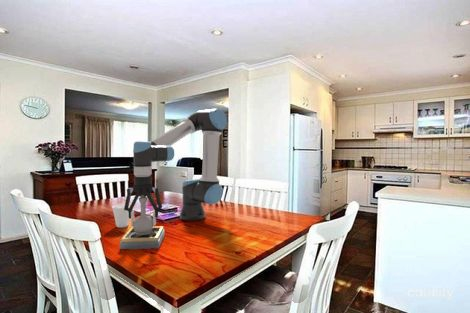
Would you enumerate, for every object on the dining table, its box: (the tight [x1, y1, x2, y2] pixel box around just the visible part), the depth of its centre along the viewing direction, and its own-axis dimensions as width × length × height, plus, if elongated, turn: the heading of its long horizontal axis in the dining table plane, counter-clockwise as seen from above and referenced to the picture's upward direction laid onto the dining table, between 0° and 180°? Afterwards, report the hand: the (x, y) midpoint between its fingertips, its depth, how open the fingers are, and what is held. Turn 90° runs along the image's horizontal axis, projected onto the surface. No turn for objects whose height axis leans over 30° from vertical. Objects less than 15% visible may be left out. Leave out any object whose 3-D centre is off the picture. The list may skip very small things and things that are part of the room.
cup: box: [111, 203, 132, 229], centre depth 141 cm, size 10×10×11 cm
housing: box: [119, 226, 166, 250], centre depth 118 cm, size 16×16×4 cm
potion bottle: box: [132, 195, 154, 235], centre depth 118 cm, size 9×9×18 cm
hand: (143, 224), depth 118 cm, fingers closed on potion bottle, 9 cm apart
